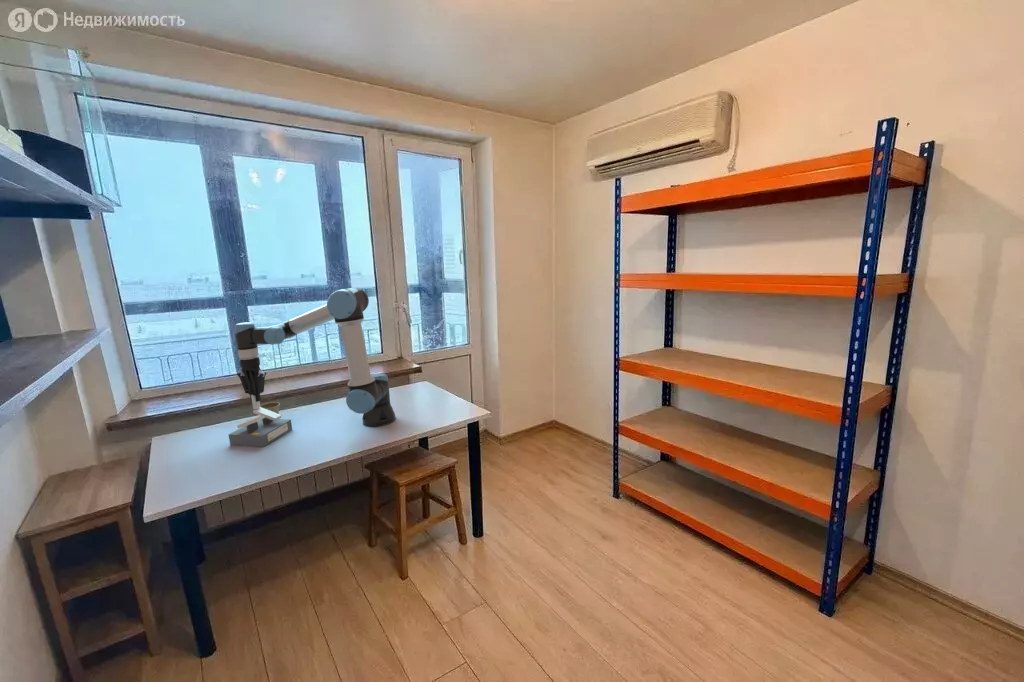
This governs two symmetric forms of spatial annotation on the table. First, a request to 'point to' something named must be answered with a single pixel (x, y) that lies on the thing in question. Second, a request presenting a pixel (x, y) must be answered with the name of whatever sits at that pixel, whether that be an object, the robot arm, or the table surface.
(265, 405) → the flower pot
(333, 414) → the table surface
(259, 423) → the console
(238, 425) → the rocker
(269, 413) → the rocker
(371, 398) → the robot arm
